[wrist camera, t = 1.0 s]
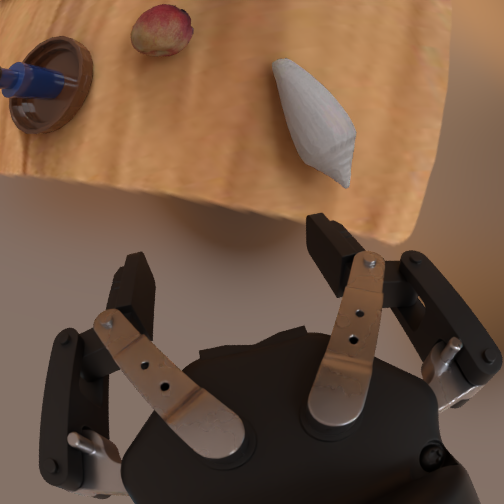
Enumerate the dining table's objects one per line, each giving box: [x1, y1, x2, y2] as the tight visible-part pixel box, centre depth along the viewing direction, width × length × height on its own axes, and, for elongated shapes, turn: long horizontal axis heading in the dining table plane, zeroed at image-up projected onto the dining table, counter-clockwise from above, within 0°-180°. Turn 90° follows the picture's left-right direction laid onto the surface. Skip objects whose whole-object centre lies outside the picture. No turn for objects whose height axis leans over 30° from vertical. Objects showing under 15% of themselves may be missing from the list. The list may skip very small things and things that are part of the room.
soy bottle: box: [0, 62, 64, 100], centre depth 20 cm, size 5×5×15 cm
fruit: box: [131, 4, 194, 56], centre depth 24 cm, size 8×8×8 cm
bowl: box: [9, 36, 93, 134], centre depth 26 cm, size 15×15×4 cm
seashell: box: [272, 58, 356, 188], centre depth 31 cm, size 9×11×15 cm
